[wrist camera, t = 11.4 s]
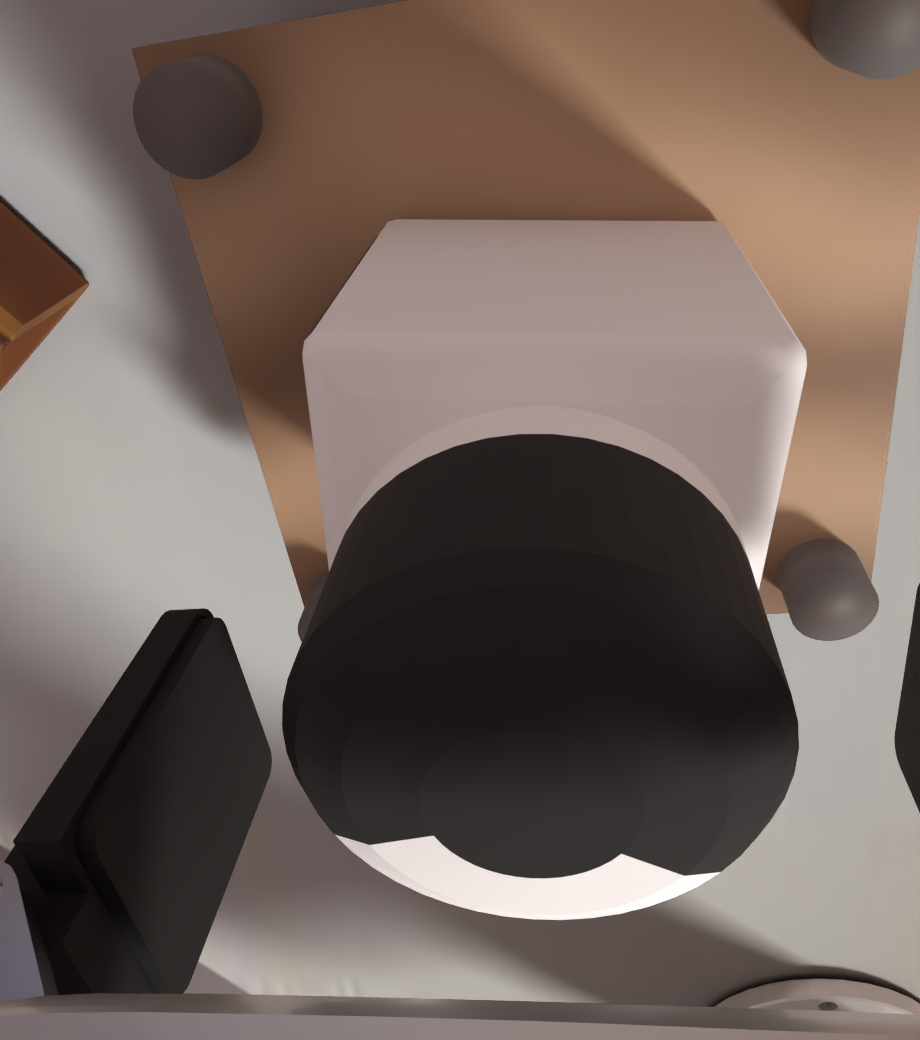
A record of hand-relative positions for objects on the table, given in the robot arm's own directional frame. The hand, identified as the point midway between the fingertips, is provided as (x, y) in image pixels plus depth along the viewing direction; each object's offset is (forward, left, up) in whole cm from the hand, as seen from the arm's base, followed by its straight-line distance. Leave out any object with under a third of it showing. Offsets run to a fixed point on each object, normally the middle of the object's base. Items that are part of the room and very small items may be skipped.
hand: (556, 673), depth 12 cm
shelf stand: (+1, 0, -16) cm, 16 cm away
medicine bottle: (0, 0, -10) cm, 10 cm away
